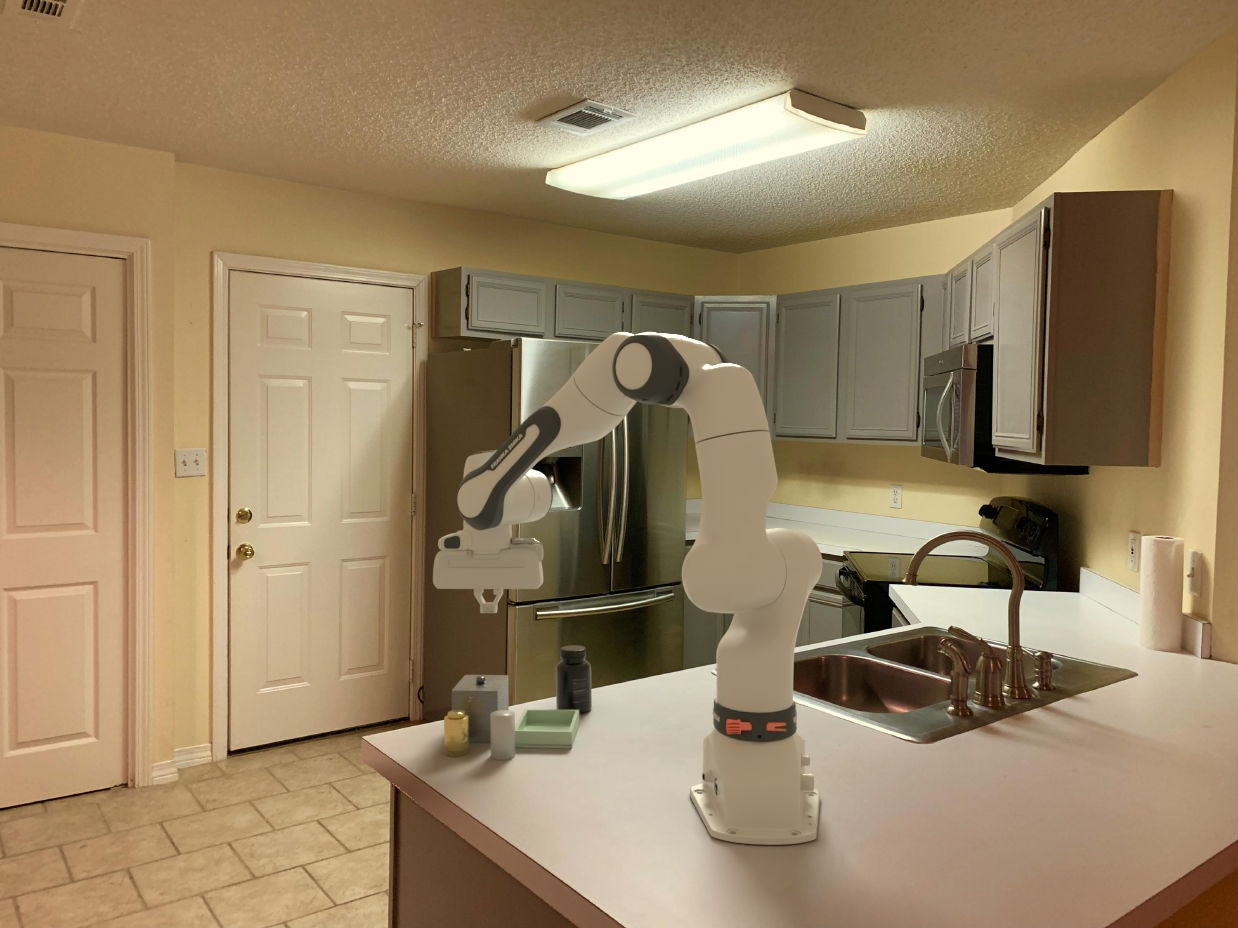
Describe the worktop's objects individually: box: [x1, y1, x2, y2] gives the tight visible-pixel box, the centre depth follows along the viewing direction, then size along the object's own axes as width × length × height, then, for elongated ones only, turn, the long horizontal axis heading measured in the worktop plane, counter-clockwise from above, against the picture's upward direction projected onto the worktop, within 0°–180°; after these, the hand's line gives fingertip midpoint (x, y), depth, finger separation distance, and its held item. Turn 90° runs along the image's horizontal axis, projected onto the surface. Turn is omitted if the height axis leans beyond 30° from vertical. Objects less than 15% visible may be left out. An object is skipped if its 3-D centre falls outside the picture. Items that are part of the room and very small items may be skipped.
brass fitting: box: [443, 710, 470, 758], centre depth 150 cm, size 4×4×7 cm
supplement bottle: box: [555, 644, 593, 715], centre depth 173 cm, size 7×7×12 cm
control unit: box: [451, 674, 510, 744], centre depth 161 cm, size 10×8×10 cm
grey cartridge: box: [490, 710, 516, 761], centre depth 149 cm, size 4×4×7 cm
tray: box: [515, 708, 580, 749], centre depth 159 cm, size 12×10×3 cm
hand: (488, 612), depth 167 cm, fingers closed
